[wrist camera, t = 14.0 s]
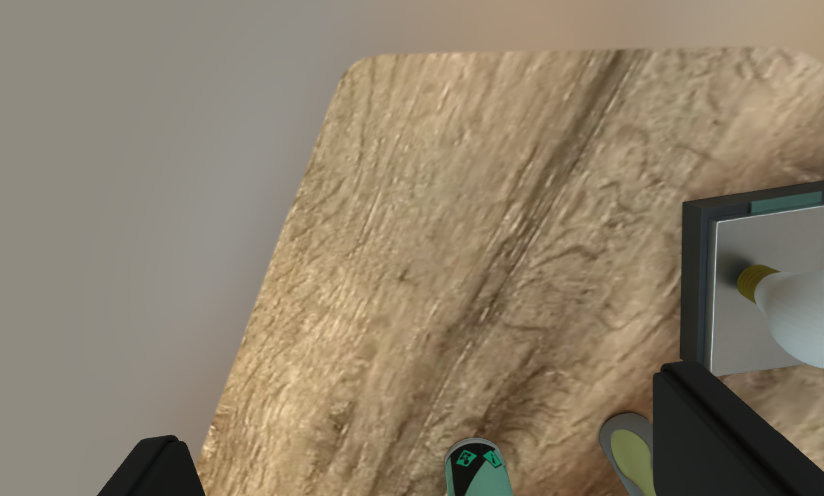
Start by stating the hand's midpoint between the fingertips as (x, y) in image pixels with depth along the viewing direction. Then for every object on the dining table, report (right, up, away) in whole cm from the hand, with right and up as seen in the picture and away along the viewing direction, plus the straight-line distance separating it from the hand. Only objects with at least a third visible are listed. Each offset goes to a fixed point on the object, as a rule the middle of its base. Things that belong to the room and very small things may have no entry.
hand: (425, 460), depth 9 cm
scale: (+28, +2, +29) cm, 40 cm away
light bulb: (+25, +2, +26) cm, 36 cm away
